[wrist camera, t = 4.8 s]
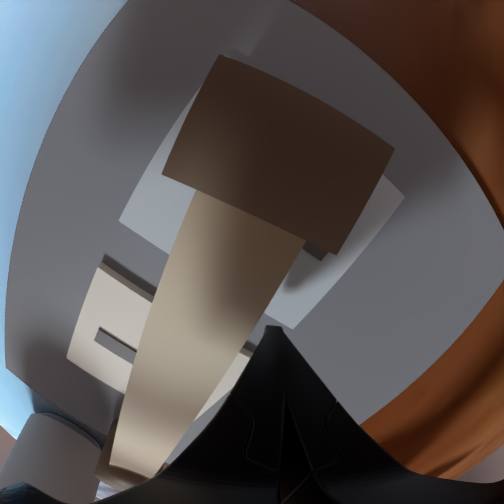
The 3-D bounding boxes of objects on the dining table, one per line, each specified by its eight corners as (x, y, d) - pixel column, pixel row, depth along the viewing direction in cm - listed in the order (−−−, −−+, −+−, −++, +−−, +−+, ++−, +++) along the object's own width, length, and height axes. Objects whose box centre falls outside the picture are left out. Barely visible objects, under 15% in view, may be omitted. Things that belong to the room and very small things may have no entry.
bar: (161, 454, 14) (151, 501, 11) (109, 434, 14) (94, 480, 10) (340, 144, 8) (405, 149, 4) (231, 88, 7) (217, 46, 4)
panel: (507, 253, 10) (522, 262, 9) (247, 477, 17) (247, 490, 16) (179, -37, 6) (172, -53, 5) (11, 360, 13) (2, 372, 12)
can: (32, 422, 16) (-9, 512, 5) (35, 393, 14) (-23, 510, 3) (99, 463, 18) (72, 558, 7) (119, 445, 16) (86, 571, 5)
